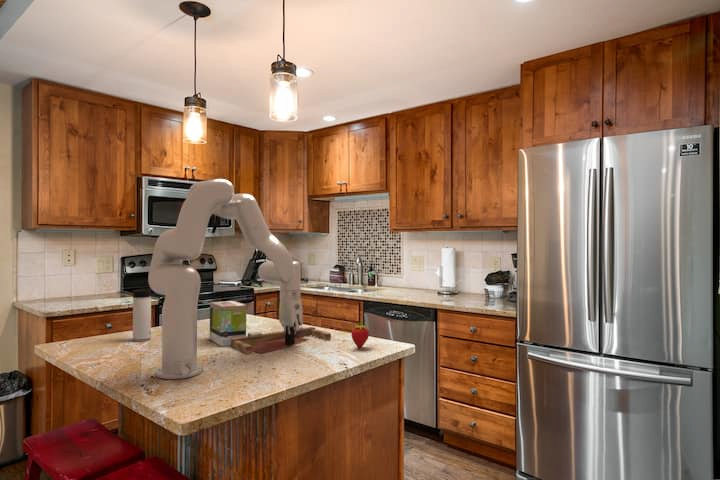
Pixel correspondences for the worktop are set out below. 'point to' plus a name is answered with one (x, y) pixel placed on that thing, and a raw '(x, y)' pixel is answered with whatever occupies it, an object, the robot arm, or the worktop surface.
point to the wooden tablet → (273, 345)
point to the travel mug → (142, 314)
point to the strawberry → (360, 335)
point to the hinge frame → (273, 338)
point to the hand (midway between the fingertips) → (289, 344)
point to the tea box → (227, 321)
